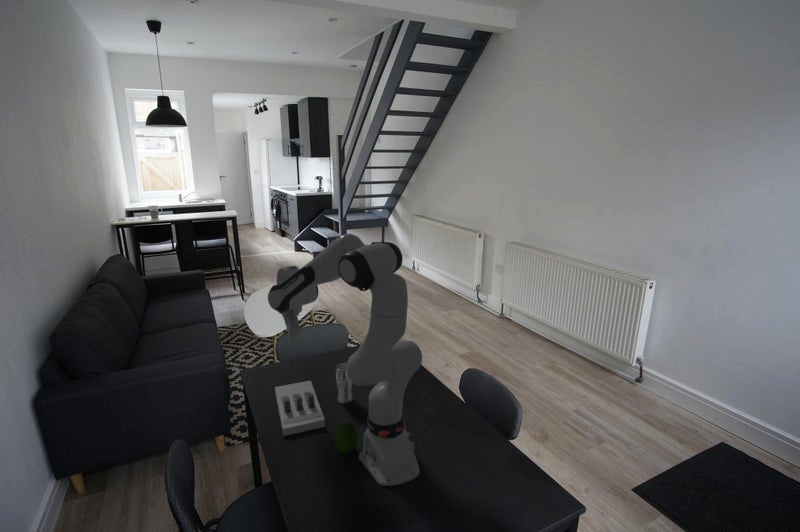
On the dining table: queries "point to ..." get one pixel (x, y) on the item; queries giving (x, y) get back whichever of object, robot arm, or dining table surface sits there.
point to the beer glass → (343, 384)
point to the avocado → (347, 437)
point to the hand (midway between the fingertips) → (292, 340)
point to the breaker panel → (300, 417)
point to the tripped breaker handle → (299, 402)
